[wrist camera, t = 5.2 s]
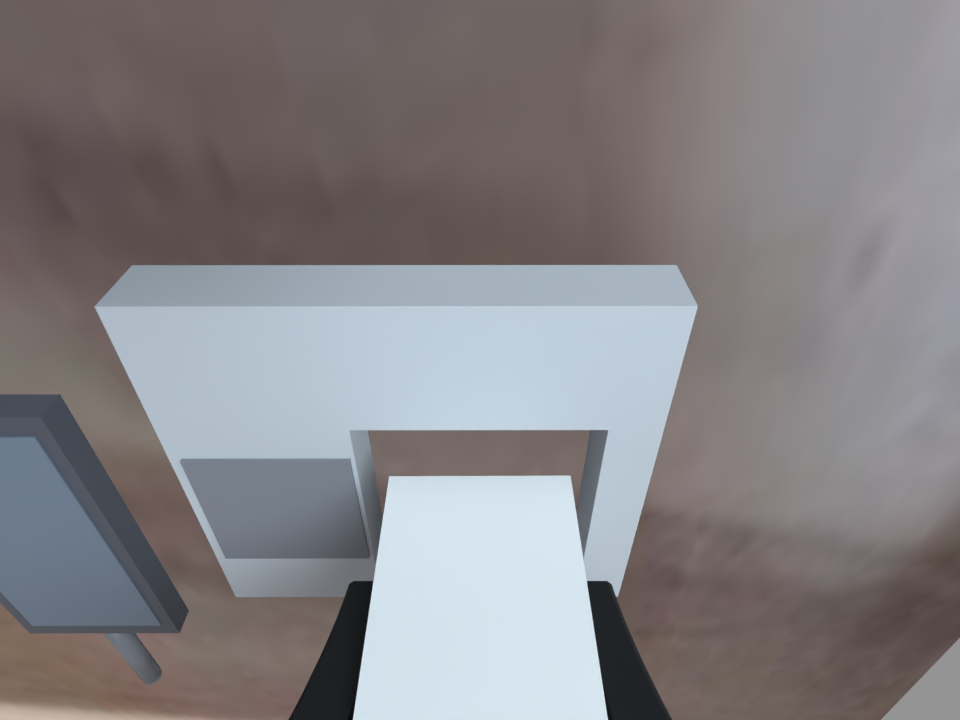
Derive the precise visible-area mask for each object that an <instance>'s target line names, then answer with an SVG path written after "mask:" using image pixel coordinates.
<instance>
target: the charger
mask: <svg viewBox="0 0 960 720" xmlns="http://www.w3.org/2000/svg"><path fill="white" fill-rule="evenodd" d="M353 720H608V717H607V710H606V704H605V697H604V691H603V684H602V678H601V671H600V664H599V658H598V651H597V645H596V638H595V632H594V625H593V619H592V612H591V606H590V599H589V593H588V586H587V580H586V573H585V567H584V560H583V553H582V547H581V540H580V534H579V527H578V521H577V514H576V508H575V501H574V495H573V488H572V482H571V476H389V480H388V487H387V494H386V501H385V507H384V514H383V521H382V527H381V534H380V541H379V548H378V554H377V561H376V568H375V574H374V581H373V588H372V595H371V601H370V608H369V615H368V622H367V628H366V635H365V642H364V648H363V655H362V662H361V669H360V675H359V682H358V689H357V695H356V702H355V709H354V716H353Z"/></svg>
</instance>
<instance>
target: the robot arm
mask: <svg viewBox="0 0 960 720" xmlns="http://www.w3.org/2000/svg"><path fill="white" fill-rule="evenodd" d="M587 586H588V593H589V599H590V606H591V612H592V619H593V625H594V632H595V638H596V645H597V651H598V658H599V664H600V671H601V678H602V684H603V691H604V697H605V704H606V710H607V717H608V720H672V718H671V716H670V715H669V713H668V711H667V709H666V707H665V705H664V703H663V701H662V699H661V697H660V695H659V693H658V691H657V689H656V687H655V685H654V683H653V681H652V679H651V677H650V675H649V673H648V671H647V669H646V667H645V665H644V663H643V660H642V658H641V656H640V654H639V652H638V649H637V647H636V645H635V643H634V640H633V638H632V636H631V634H630V631H629V629H628V626H627V624H626V622H625V619H624V617H623V614H622V612H621V609H620V606H619V604H618V601H617V598H616V596H615V593H614V590H613V587H612V584H611V583H609V582H608V581H587ZM372 588H373V581H353V582H351V583H350V584H349V586H348V588H347V591H346V594H345V597H344V600H343V603H342V605H341V608H340V611H339V613H338V616H337V618H336V621H335V623H334V626H333V628H332V630H331V633H330V635H329V637H328V640H327V642H326V644H325V646H324V649H323V651H322V653H321V655H320V658H319V660H318V662H317V664H316V666H315V668H314V670H313V672H312V674H311V676H310V678H309V680H308V682H307V685H306V687H305V689H304V691H303V693H302V695H301V697H300V699H299V701H298V703H297V705H296V707H295V708H294V710H293V712H292V714H291V716H290V718H289V719H288V720H353V716H354V709H355V702H356V695H357V689H358V682H359V675H360V669H361V662H362V655H363V648H364V642H365V635H366V628H367V622H368V615H369V608H370V601H371V595H372Z"/></svg>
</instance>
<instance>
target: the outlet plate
mask: <svg viewBox="0 0 960 720" xmlns="http://www.w3.org/2000/svg"><path fill="white" fill-rule="evenodd" d="M94 307H95V309H96V311H97V313H98V315H99V317H100V319H101V321H102V323H103V325H104V327H105V329H106V331H107V333H108V335H109V337H110V340H111V342H112V344H113V346H114V348H115V350H116V352H117V354H118V356H119V358H120V360H121V362H122V364H123V366H124V368H125V370H126V372H127V374H128V377H129V379H130V381H131V383H132V385H133V387H134V389H135V391H136V393H137V395H138V397H139V399H140V401H141V403H142V405H143V407H144V409H145V411H146V414H147V416H148V418H149V420H150V422H151V424H152V426H153V428H154V430H155V432H156V434H157V436H158V438H159V440H160V442H161V444H162V446H163V448H164V451H165V453H166V455H167V457H168V459H169V461H170V463H171V465H172V467H173V469H174V471H175V473H176V475H177V477H178V479H179V481H180V483H181V485H182V487H183V490H184V492H185V494H186V496H187V498H188V500H189V502H190V504H191V506H192V508H193V510H194V512H195V514H196V516H197V518H198V520H199V522H200V524H201V527H202V529H203V531H204V533H205V535H206V537H207V539H208V541H209V543H210V545H211V547H212V549H213V551H214V553H215V555H216V557H217V559H218V561H219V564H220V566H221V568H222V570H223V572H224V574H225V576H226V578H227V580H228V582H229V584H230V586H231V588H232V590H233V592H234V594H235V596H236V597H345V594H346V591H347V588H348V586H349V584H350V583H351V582H353V581H374V574H375V568H376V561H377V554H378V548H379V541H380V534H381V527H382V521H383V518H382V512H381V506H380V500H379V494H378V488H377V482H376V476H375V470H374V464H373V458H372V452H371V446H370V440H369V435H368V430H590V433H589V439H588V445H587V451H586V458H585V464H584V470H583V476H582V482H581V488H580V494H579V500H578V506H577V512H576V514H577V521H578V527H579V534H580V540H581V547H582V553H583V560H584V567H585V573H586V580H587V581H608V582H609V583H611V584H612V587H613V590H614V593H615V596H616V597H618V595H619V591H620V588H621V584H622V580H623V577H624V573H625V570H626V566H627V562H628V559H629V555H630V551H631V548H632V544H633V540H634V537H635V533H636V530H637V526H638V522H639V519H640V515H641V511H642V508H643V504H644V500H645V497H646V493H647V490H648V486H649V482H650V479H651V475H652V471H653V468H654V464H655V460H656V457H657V453H658V449H659V446H660V442H661V439H662V435H663V431H664V428H665V424H666V420H667V417H668V413H669V409H670V406H671V402H672V399H673V395H674V391H675V388H676V384H677V380H678V377H679V373H680V369H681V366H682V362H683V359H684V355H685V351H686V348H687V344H688V340H689V337H690V333H691V329H692V326H693V322H694V319H695V315H696V311H697V308H698V305H697V303H696V301H695V299H694V298H693V296H692V294H691V292H690V290H689V288H688V286H687V284H686V282H685V280H684V278H683V276H682V274H681V273H680V271H679V269H678V267H677V265H132V266H131V267H130V268H129V269H128V270H127V271H126V272H125V274H124V275H123V276H122V277H121V278H120V279H119V280H118V281H117V282H116V283H115V285H114V286H113V287H112V288H111V289H110V290H109V291H108V292H107V293H106V294H105V296H104V297H103V298H102V299H101V300H100V301H99V302H98V303H97V304H96V305H95V306H94Z"/></svg>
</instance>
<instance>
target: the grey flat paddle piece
mask: <svg viewBox="0 0 960 720" xmlns="http://www.w3.org/2000/svg"><path fill="white" fill-rule="evenodd" d="M0 603H1V604H2V605H3V606H4V607H5V608H6V609H7V610H8V611H9V612H10V613H11V614H12V615H13V617H14V618H15V619H16V620H17V621H18V622H19V623H20V624H21V625H22V626H23V627H24V628H25V629H26V630H27V631H28V632H29V633H103V634H104V635H105V636H106V637H107V639H108V640H109V641H110V642H111V644H112V645H113V646H114V647H115V649H116V650H117V651H118V652H119V654H120V655H121V656H122V657H123V658H124V660H125V661H126V662H127V663H128V665H129V666H130V667H131V668H132V670H133V671H134V672H135V673H136V675H137V676H138V677H139V678H140V679H141V681H142V682H143V683H144V684H146V685H152V684H155V683H156V682H158V681H159V679H160V678H161V675H162V670H161V668H160V666H159V665H158V663H157V662H156V661H155V659H154V658H153V657H152V655H151V654H150V653H149V651H148V650H147V649H146V647H145V646H144V645H143V643H142V642H141V640H140V639H139V638H138V636H137V635H136V634H135V633H180V631H181V629H182V626H183V624H184V621H185V619H186V616H187V614H188V611H189V610H188V608H187V606H186V605H185V603H184V601H183V600H182V598H181V596H180V595H179V593H178V591H177V590H176V588H175V586H174V585H173V583H172V581H171V579H170V578H169V576H168V574H167V573H166V571H165V569H164V568H163V566H162V564H161V563H160V561H159V559H158V558H157V556H156V554H155V553H154V551H153V549H152V548H151V546H150V544H149V543H148V541H147V539H146V538H145V536H144V534H143V532H142V531H141V529H140V527H139V526H138V524H137V522H136V521H135V519H134V517H133V516H132V514H131V512H130V511H129V509H128V507H127V506H126V504H125V502H124V501H123V499H122V497H121V496H120V494H119V492H118V491H117V489H116V487H115V485H114V484H113V482H112V480H111V479H110V477H109V475H108V474H107V472H106V470H105V469H104V467H103V465H102V464H101V462H100V460H99V459H98V457H97V455H96V454H95V452H94V450H93V449H92V447H91V445H90V444H89V442H88V440H87V439H86V437H85V435H84V433H83V432H82V430H81V428H80V427H79V425H78V423H77V422H76V420H75V418H74V417H73V415H72V413H71V412H70V410H69V408H68V407H67V405H66V403H65V402H64V400H63V398H62V397H61V395H60V394H0Z"/></svg>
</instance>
